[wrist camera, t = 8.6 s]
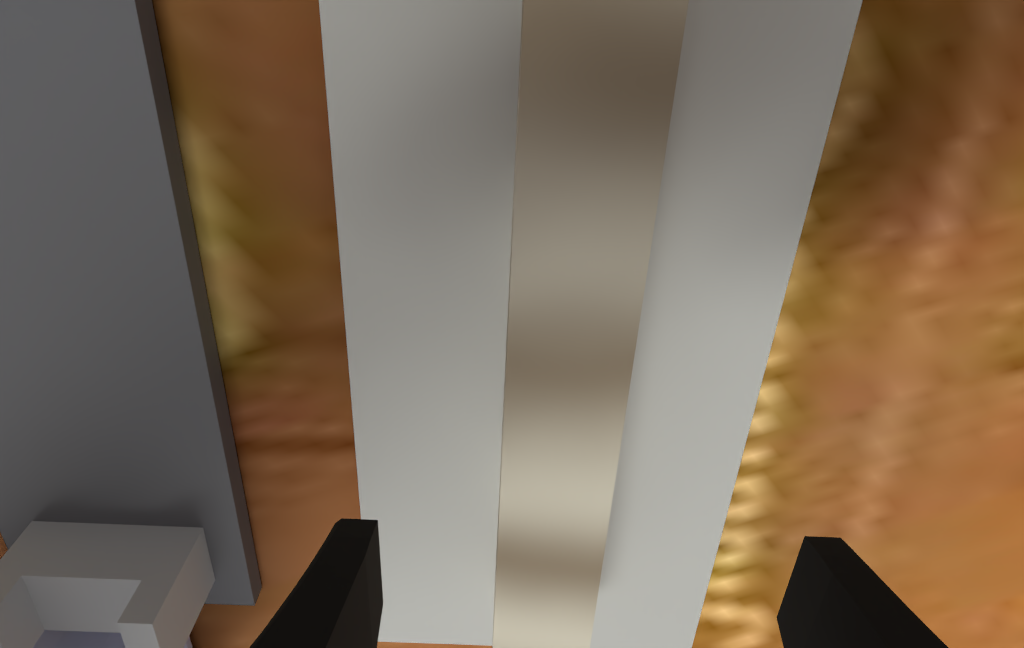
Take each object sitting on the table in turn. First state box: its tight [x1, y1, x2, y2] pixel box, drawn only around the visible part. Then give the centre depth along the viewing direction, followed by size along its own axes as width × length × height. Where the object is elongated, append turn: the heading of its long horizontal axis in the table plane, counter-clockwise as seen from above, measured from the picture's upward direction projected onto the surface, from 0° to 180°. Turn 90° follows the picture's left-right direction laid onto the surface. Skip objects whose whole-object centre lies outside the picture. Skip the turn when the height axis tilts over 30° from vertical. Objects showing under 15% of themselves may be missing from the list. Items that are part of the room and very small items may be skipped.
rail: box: [492, 0, 689, 648], centre depth 18 cm, size 23×3×3 cm, turn 177°
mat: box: [319, 0, 863, 648], centre depth 20 cm, size 28×12×1 cm, turn 177°
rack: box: [0, 0, 262, 648], centre depth 18 cm, size 24×8×4 cm, turn 177°
